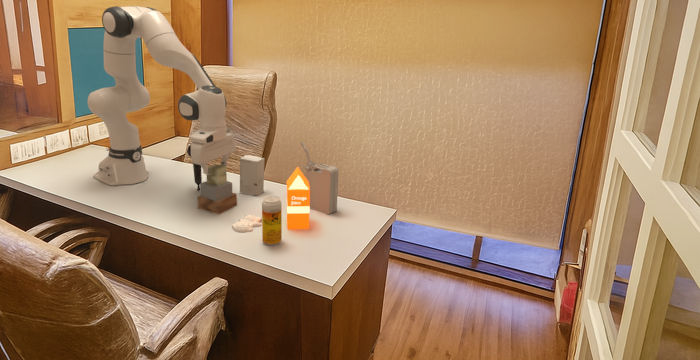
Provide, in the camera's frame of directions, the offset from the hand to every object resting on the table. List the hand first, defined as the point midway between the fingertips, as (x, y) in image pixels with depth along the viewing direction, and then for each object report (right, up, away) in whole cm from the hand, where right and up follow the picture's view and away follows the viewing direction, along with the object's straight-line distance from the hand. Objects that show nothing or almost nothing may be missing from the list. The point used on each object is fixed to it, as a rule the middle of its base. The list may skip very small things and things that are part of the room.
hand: (215, 169), depth 173 cm
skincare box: (+9, -9, +21) cm, 24 cm away
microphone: (-12, -8, +19) cm, 24 cm away
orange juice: (+30, -19, -5) cm, 36 cm away
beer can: (+24, -24, -19) cm, 39 cm away
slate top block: (0, -10, +3) cm, 10 cm away
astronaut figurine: (+14, -20, -8) cm, 25 cm away
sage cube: (0, -5, +2) cm, 5 cm away
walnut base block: (-1, -14, +5) cm, 15 cm away
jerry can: (+36, -15, +9) cm, 40 cm away
